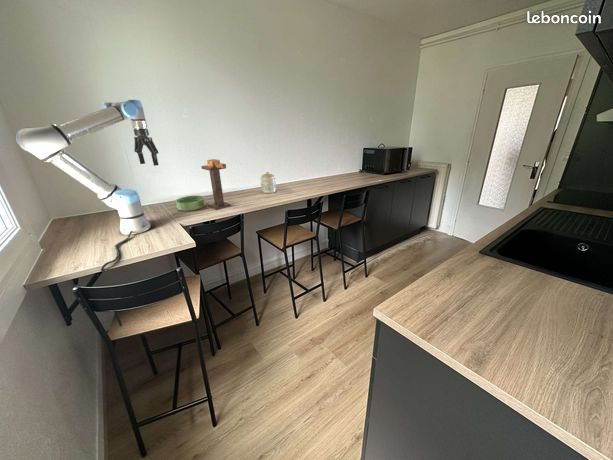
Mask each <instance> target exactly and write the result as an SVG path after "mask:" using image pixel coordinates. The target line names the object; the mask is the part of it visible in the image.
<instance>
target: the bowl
mask: <svg viewBox="0 0 613 460" xmlns="http://www.w3.org/2000/svg"><path fill="white" fill-rule="evenodd" d="M175 205H176V209H177V210H179V211H186V212H187V211H196V210H199V209H202V208H204V207H206V197H205V196H203V195H197V194H196V195H186V196H182V197H179V198H177V199H176V200H175Z"/></svg>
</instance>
